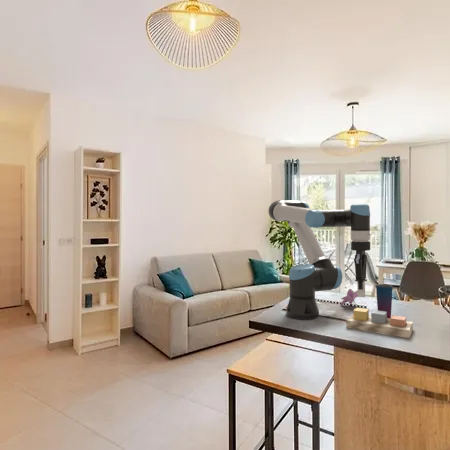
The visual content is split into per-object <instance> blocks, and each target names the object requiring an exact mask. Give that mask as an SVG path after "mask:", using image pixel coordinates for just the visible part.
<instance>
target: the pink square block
mask: <svg viewBox="0 0 450 450" xmlns="http://www.w3.org/2000/svg"><path fill="white" fill-rule="evenodd" d="M406 321H407V317H406V316H400V315H394V314H391V318H390V325H395V326H401V327H406Z"/></svg>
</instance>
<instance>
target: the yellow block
mask: <svg viewBox="0 0 450 450" xmlns="http://www.w3.org/2000/svg"><path fill="white" fill-rule="evenodd" d="M369 310H370V309H368V308H361V307H356V308H354V309H353V310H352V311H353V317H354V319H356V320H363V321H367V320H368V319H369V316H370V313H369V312H370V311H369Z"/></svg>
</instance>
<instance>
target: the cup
mask: <svg viewBox="0 0 450 450" xmlns="http://www.w3.org/2000/svg"><path fill="white" fill-rule="evenodd" d="M393 287H394V286H393V285H391V284H384V283H379V284H378V283H377V284H376V285H375V291H376V293H375V294H376V304H377V305H376V307H377V310H378V311H385V312H387V318H391V316H392V308H393V307H392V305H393Z"/></svg>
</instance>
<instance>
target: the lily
mask: <svg viewBox="0 0 450 450" xmlns="http://www.w3.org/2000/svg"><path fill="white" fill-rule="evenodd" d="M356 298H359V297H358V289H356V291H354V290H353V289H351V288H349V289H348V291H347V293H346V295H345V296H343V297H341V300H342V301H341V303H340V306H342V305H345V304H347V303H349V305H353V303H354V304H355V307H356V308H358V305H357V304H356V302H355V300H356Z"/></svg>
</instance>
